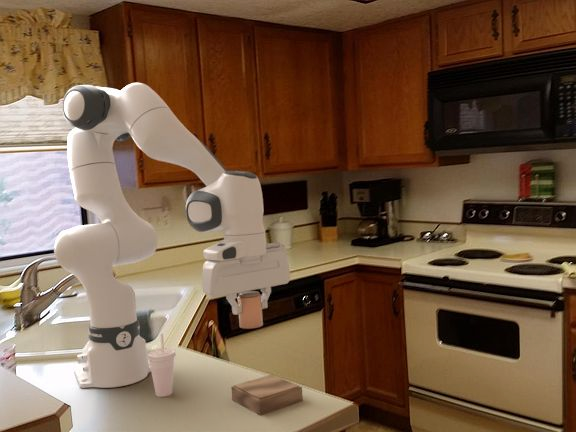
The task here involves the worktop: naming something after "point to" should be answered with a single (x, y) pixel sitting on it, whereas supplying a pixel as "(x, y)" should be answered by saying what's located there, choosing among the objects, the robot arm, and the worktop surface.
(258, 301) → the jar
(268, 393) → the plinth
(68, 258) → the robot arm
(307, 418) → the worktop surface
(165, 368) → the smoothie
